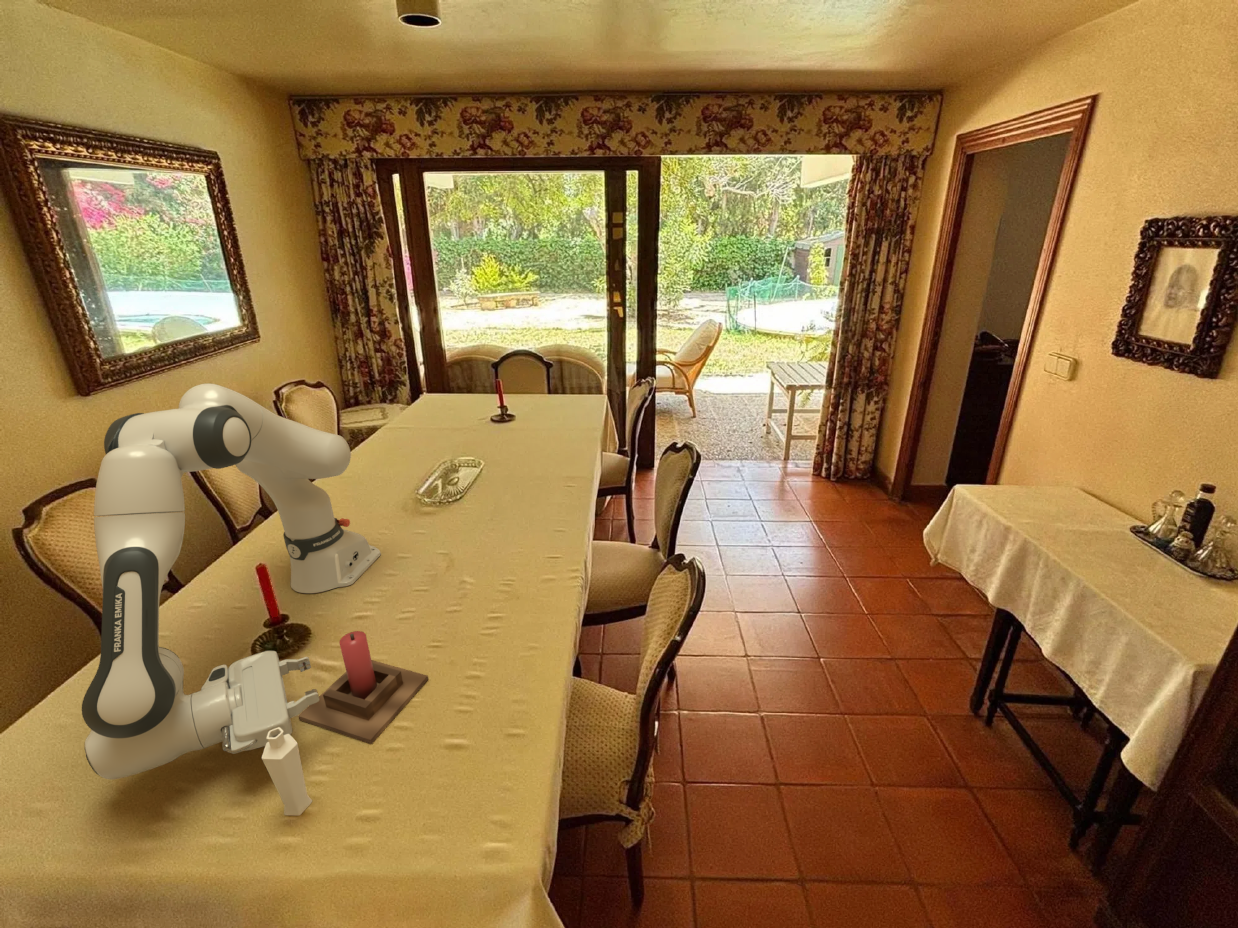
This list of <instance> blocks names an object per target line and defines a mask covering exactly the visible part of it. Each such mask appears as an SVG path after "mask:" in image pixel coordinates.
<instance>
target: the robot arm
mask: <svg viewBox="0 0 1238 928" xmlns="http://www.w3.org/2000/svg"><path fill="white" fill-rule="evenodd" d="M103 447H104V452H105V455H104V456H103V458H102V460H101V462H100V467H99V470H98V473H97V474H98V475H97V478H96V483H95V484H96V485H95V491H94V493H95V494H94V505H93V516H94V518H93V523H94V524H93V525H94V526H93V527H94V539H95V546H96V554H97V559H98V565H99V572H100V580H101V587H102V611H101V612H102V613H101V636H100V637H101V641H100V659H99V664H98V668H97V669H96V672H95V674H94V677H93V678H92V680H91V683H90V684H89V686H88V688H87V690H86V692H85V694H84V697H83V699H82V703H81V715H82V718H83V721H84V723H85V725H86V726H88V728H89V729H90V730H91V731H89V734H88V736H87V737H86V738H85V741H84V751H85V757H86V760H87V763H88V764H89V766H90V768H91V770H92V771H93V772H94V773H95V774H96V775H97V776H99V777H101V778H103V779H106V780H118V779H124V778H127V777H130V776H131V777H132V776H135V775H138V774H141V773H143V772H146V771H150V770H153V769H155V768H158V767H161V766H163V765H166V764H168V763H169V764H170V763H171V762H173V761H175V760H176V759H179V757H181V756H183V755H185V754H187V753H190V752H194V751H200V750H204V749H207V748H208V747H211V746H214V745H216V744H219V743H222V744H221V747H222V750H223V751H224V752H227V753H229V754H233V755H235V754H239V753H241V752H243V751H245V752H246V751H251V750H256V749H259V748H263V747H265V746H266V743H267V742H269V741H268V739H266V738H267V735H268V732H269V731H270V730H273V729H275V728H278V727H280V728H281V729H282V730H283V731H284V732H283V735H286V734H290V735H291V734H292V733H293V727H292V721H291V718H295V717H298V716H299V715H300V714H301V713H302V712H303V711H304V710H305V709H306V708H307V707H308V706H309V705H312V704H314V703H317V702H318V701H319V696H320V695H319V693H318V690H317V689H316V688H313V689H311V690H307V691H306V692H304V694H305V695H303V696H302V697H300V698H299V699H297V701H295V700H291V701H289V702H288V700H287V694H286V690H285V689H286V688H285V682H284V678H283V676H285V675H288V674H289V673H290V671H291V672H292V671H300V673H303V672H305V671H307V670H310V669H311V668H312V666H311V665H312V664H311V661H310V658H309V657H308V656H304V657H301V658H299V659H288V658H287V659H283V660H281V661H280V659H279V655H278V653H277V651H275V650H265V651H262V652H258V653H255V654H253V655H248V656H247V657H244V658H241V659H239V660H236V661H234V662H232V664H230V665H229V667H228V666H227V664H221V665H218V666H215V667H214V668H212V669H211V671H210V673H209V675H208V677H207V679H206V681H205V683H204V684H203V685H202V686H201V688H200V690H199V691H196V692H192V693H191V694H185V693H184V677H185V676H184V675H185V669H184V665H183V663H182V661H181V659H180V657H179V656H178V655H177V654H176V653H175V652H174V651H172V650H171V649H168V648H166V647H163V646H159V642H160V641H159V640H160V636H159V635H160V634H159V633H160V623H159V622H160V600H161V592H162V590H163V585H164V583H165V580H166V577H167V576H168V574H169V572H170V570H171V569H172V567H173V565H174V564H175V562H176V561H177V559H178V558H179V555H180V554H181V550H182V545H183V542H184V541H183V540H184V535H185V534H184V532H185V526H186V525H185V523H186V521H185V520H186V515H185V510H186V509H185V497H184V496H185V495H184V489H183V488H184V487H183V481H182V477H183V476H184V473H190V472H199V471H205V470H211V469H216V470H218V469H224V468H229V467H233V466H235V467H236V468H237V470H238V471H240V473H242V474H244V475H246V476H247V477H249V478H251V479H252V480H254V481H255V482H256V483H257V484H258V485H260V487H261V488H262V489H263V490H264V491H265V492H266V493H267V495H268V496H269V497H270V499H271V500H272V501H273V503H274V506H275V507H276V509H277V511H278V515H279V519H280V520H281V525H282V528H283V535H282V537H283V539H284V544H285V545H284V546H285V548H286V550H287V552H288V555H289V561H290V587H291V589H292V590H293V591H295V592H298V593H300V594H317V593H323V592H327V591H329V590H333V589H336V588H342V587H348V586H351V585H353V584H354V583H355V582H356V581H357V580H358V579H359V578H360V577H361V576H362V575H363V574H364V573H365V571H367V570H368V569H369V568H370V567H371V565H372V564H374V562H375V561H377V559H378V558H379V557H380V556H381V555H382V554H381V550H380V549H379V548H377V547H376V546H374V545H370V544H369V542H368V540H367V538H366V537H365V536H363V535H362V534H360V533H358V532H355V531H351V530H347V529H343V527H345V528H347V527H348V528H349V526H351V525H350V524H351V521H350V519H348V518H343V517H342V518H340V519H338V518H336V517H335V515H334V510H333V506H332V501H331V496H330V495H329V494H328V492H327V491H326V490H324V489H323V488H322V487H320V486H318V485H316V484H315V483H313V482H312V481H310V480H320V479H322V480H323V479H329V478H332V477H333V478H334V477H337V476H341V475H342V474H343V473H344V472H345V471H346V470H347V468H348V467H349V465H350V463H351V458H352V457H351V455H352V454H351V448H350V446H349V444H348V442H347V440H346V439H345V438H344V437H343V436H341V434H339V435H338V434H335V433H333V432H331V433H330V432H329V431H328V432H327V431H323V430H320V429H317V428H314V427H310V426H308V425H306V424H303V423H301V422H298V421H295V420H292V419H289V418H286V417H283V416H280V415H278V414H276V413H274V412H272V411H271V410H269V409H267V408H266V407H264V406H262V405H261V404H260V403H258V402H256V401H255V400H253V399H252V398H249V397H248V396H246V395H244V394H242V393H240V392H238V391H235V390H234V389H231V388H228V387H226V386H222V385H219V384H216V383H201V384H197V385H195V386H193V387H191V388H189V389H188V390H187V391H185V392H184V394H183V395H182V396H181V398H180V400H179V403H178V408H172V409H167V410H166V409H165V410H159V411H158V410H157V411H150V412H146V413H144V412H137V413H131V414H129V415H125V416H122V417H120V418H117V419H115V420H114V421H113V422H112V423H110V426H109V427H108V428H107V431H106V433H105V436H104V440H103ZM309 479H310V480H309Z"/></svg>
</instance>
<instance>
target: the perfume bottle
mask: <svg viewBox="0 0 1238 928" xmlns="http://www.w3.org/2000/svg"><path fill="white" fill-rule="evenodd" d="M283 732H284V731H283V730H282V729H281V728H280V727H278V728H275V729H273V730H270V731H269V732H268V735H267V738H266V739H268V741H269V742H267V743H266V746H264V749H263V753H262V755H261V760H262V762H263V764H264V766H265V767H266V770H267V772H268V774H269V777H270V778H271V781H272V783H273V785H274V787H275V789H276V791H277V792H278V795H279V797H280V799H281V801H282V803H283V805H284V806H283V809H284V810H283V815H284V816H301V815H302V813H304V812H305V810H306V809H307V808H308V807H309V806H310V805H311V804H312V803H313V799H312V798H311V797H310V796H309V795H308V792H307V786H306V782H305V781H306V780H305V776H304V771H303V766H302V760H301V756H300V755H301V754H300V751H299V749H300V748H299V745H298V742H297V740H295V738H294V737H293V736H292V735H291V734H286V735H283Z"/></svg>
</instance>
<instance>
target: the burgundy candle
mask: <svg viewBox="0 0 1238 928" xmlns="http://www.w3.org/2000/svg"><path fill="white" fill-rule="evenodd" d="M339 647H340V652H341V655H342V659H343V663H344V668H345V672H347V676H348V680H349V685H350V689H351V693H352V696H354V697H357V698H361V699H364V700H365V699H366V698H367V697H368V696H369V695H370V694H371V693H372V692H373V691H374V690H375V689H376V688H377V683H376V679H375V674H374V670H373V665H372V661H371V660H372V656H371V652H370V648H369V642H368V639H367V634H366V633H365V632H364V631H361V630H355V631H351V632H349V633H346V634H344V635H343V636H342V637H341V638H340V640H339Z"/></svg>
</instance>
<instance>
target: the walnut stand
mask: <svg viewBox="0 0 1238 928" xmlns="http://www.w3.org/2000/svg"><path fill="white" fill-rule="evenodd" d="M371 661H372V665H373V670H374V674H375V679H376V683H377V688H376V689H375V690H374V691H373V692H372V693H371V694H370V695H369V696H368V697H367V698H366V699H365V700H364V699H361V698H357V697H354V696H352V693H351V689H350V685H349V680H348V676H347V672H346V671H345V672H344V673H342V675H341V676H340V677H338V678H337V680H335V681H334V682H333V683H332V684H331V685H330V686H328V688H326V689H325V690H324V691H323V692H322V693H321V694H319V695H318V696H319V701H318V702H317V703H314V704H312V705H309V706H308V707H307V708H306V709H305V710H303V711H302V712H301V713H300V714H299V715H297V717H298V720H299V721H301V722H304V723H308V724H310V725H313V726H316V727H319V728H322V729H325V730H328V731H331V732H334V733H336V734H340V735H343V736H346V737H349V738H351V739H355V740H357V741H361V742H363V743H367V744H370V745H372V744H373V743H374V742H375V741H376V740H377V738H379V736H380V735H381V734H382V733H383V732H384V730H386V728H388V727H389V725H390V724H391V723H392V721H394V720H395V718H396V717H397V716H398V715H399V714H400V713H401V712H402V710H403V709H404V708H405V707H406V706H407V705H408V703H409V702H410V701H411V700H412V699H413V698H414V697H415V695H416V694H417V693H418V692H419V691H420V690H422V689H421V688H423V687H424V686H425V685H426V683H427V682H428V681H429V675H427V674H424V673H421V672H418V671H417V672H416V671H413V670H408V669H406V668H401V667H398V666H394V665H391V664H388V663H384V662H381V661H377V660H374V659H371Z"/></svg>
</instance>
